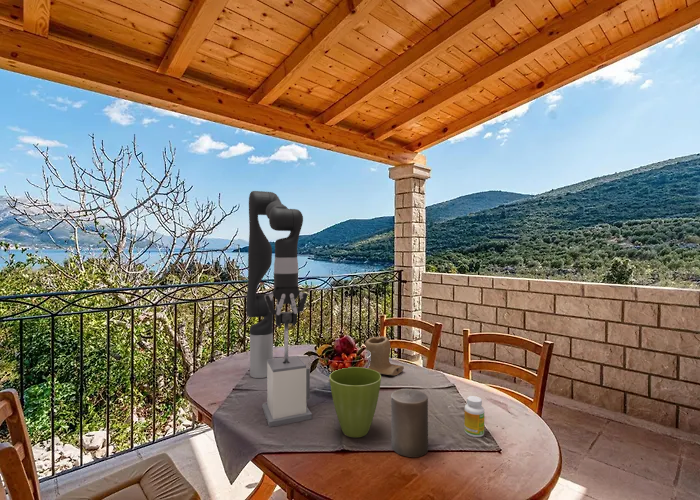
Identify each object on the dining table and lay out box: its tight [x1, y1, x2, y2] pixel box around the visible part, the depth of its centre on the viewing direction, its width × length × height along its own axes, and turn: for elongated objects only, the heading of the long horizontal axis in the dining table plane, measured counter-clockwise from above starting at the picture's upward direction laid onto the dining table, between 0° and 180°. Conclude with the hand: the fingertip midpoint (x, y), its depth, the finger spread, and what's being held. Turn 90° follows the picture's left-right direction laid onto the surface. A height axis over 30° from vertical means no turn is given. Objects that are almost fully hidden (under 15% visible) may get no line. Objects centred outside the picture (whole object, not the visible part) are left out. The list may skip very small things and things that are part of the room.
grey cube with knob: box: [262, 355, 313, 428], centre depth 112 cm, size 13×14×16 cm
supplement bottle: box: [463, 395, 485, 438], centre depth 101 cm, size 5×5×10 cm
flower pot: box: [328, 366, 382, 438], centre depth 102 cm, size 15×15×16 cm
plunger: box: [280, 311, 293, 364], centre depth 112 cm, size 8×8×19 cm
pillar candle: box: [390, 388, 429, 458], centre depth 93 cm, size 10×10×15 cm
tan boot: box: [364, 335, 404, 376], centre depth 148 cm, size 15×12×15 cm
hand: (286, 325), depth 112 cm, fingers closed on plunger, 4 cm apart
